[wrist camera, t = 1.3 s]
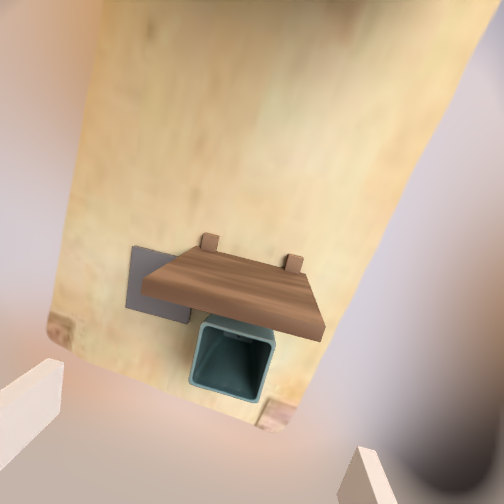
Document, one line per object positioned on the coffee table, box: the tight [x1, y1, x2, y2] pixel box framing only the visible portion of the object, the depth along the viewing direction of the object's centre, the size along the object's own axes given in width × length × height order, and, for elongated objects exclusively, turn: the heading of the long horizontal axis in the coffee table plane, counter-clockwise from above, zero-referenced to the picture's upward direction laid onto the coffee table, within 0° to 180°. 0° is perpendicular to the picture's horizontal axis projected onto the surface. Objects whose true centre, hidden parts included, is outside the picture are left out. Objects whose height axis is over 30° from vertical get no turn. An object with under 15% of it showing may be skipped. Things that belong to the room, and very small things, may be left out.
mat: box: [126, 246, 191, 324], centre depth 35 cm, size 10×10×1 cm
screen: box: [141, 233, 326, 342], centre depth 27 cm, size 6×16×14 cm, turn 77°
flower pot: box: [189, 313, 276, 403], centre depth 32 cm, size 9×9×9 cm
